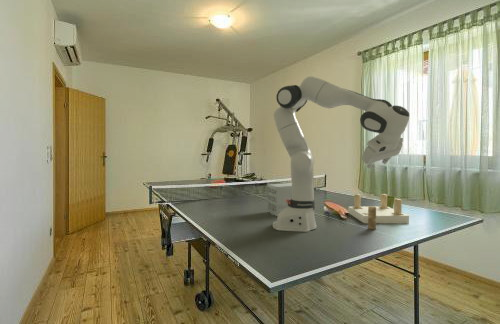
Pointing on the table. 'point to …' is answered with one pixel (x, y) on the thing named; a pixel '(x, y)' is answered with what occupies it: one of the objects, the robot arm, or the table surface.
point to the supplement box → (278, 197)
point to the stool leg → (372, 218)
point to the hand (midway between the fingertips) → (376, 165)
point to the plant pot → (390, 201)
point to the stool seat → (379, 211)
